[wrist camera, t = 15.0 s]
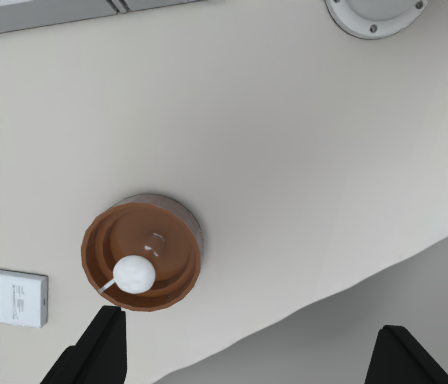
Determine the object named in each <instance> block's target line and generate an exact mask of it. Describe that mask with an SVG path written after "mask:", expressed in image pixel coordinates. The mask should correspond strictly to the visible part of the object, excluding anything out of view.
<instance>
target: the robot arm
mask: <svg viewBox="0 0 448 384" xmlns="http://www.w3.org/2000/svg"><path fill="white" fill-rule="evenodd" d="M334 1H335V2H334ZM334 1H333V0H326V4H327V6H328V9H329V11H330V14H331V15H332V17H333V18H334V20H335V21H336V23H337V24H338V25H339V26H340V27H341V28H342V29H343V30H345V31H346V32H348V33H349V34H351V35H353V36H356V37H359V38H364V39H380V38H384V37H387V36H390V35H392V34H394V33H396V32H398V31H400V30H401V29H403V28H405V27H406V26H408V25H409V24H410V23H411V22H413V21H414V20H415V19H416V18H417V17H418V16H419V15H420V14H421V12H422V11H423V10H424V9H425V7H426V5H427V4H428V2H429V0H334ZM126 374H127V346H126V313H125V311H121V307H119V306H106V305H104V306H103V307H102V308H101V309H100V311H99V312H98V313H97V315H96V316H95V318H94V319H93V321H92V322H91V323H90V325H89V326H88V328H87V329H86V331H85V332H84V333H83V335H82V336H81V338H80V339H79V341H78V342H77V343H76V345H75V346H69V347H68V348H66V349H65V351H64V352H63V353H62V354H61V356H60V357H59V358H58V360H57V361H56V362H55V364H54V365H53V367H52V368H51V369H50V371H49V372H48V373H47V375H46V376H45V377H44V379H43V380H42V382H41V383H40V384H124V381H125V378H126ZM364 384H448V374H447V373H446V372H445V371H444V370H443V369H442V368H441V367H440V366H439V364H438V363H437V362H436V361H435V360H434V359H433V358H432V357H431V356H430V355H429V354H428V352H427V351H426V350H425V349H424V348H423V347H422V346H421V345H420V343H419V342H417V340H416V339H415V338H414V337H413V336H412V335H411V334H410V332H409V331H408V330H407V329H406V328H405V327H402V326H393V325H385V326H384V327H383V328H382V329H380V330H379V332H378V336H377V340H376V343H375V347H374V351H373V354H372V358H371V362H370V365H369V369H368V372H367V376H366V379H365V383H364Z"/></svg>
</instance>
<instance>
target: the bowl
mask: <svg viewBox="0 0 448 384" xmlns="http://www.w3.org/2000/svg"><path fill="white" fill-rule="evenodd" d="M153 233H155V234H157V235H160V236H161V237H162V238H163V240H164V241H165V249H164V252H163V255H162V258H161V261H160V264H159V267H158V270H157V274H156V277H155V280H154V283H153V285H152V287H151V288H150V289H149V290H147V291H145V292H142V293H136V294H132V293H128V292H125V291H123V290H121V289H120V288H119V287H118V285H117V284H116V282H115V283H113V284H112V285H111V286H110V287H108V288H107V289H106V290H105V291H103V292H102V293H101V294H100V292H99V289H101V288H102V287H103V286H104V285H106V284H107V283H108V282H110V281H111V280H112V279H113V278H114V276H113V270H114V267H115V265H116V264H117V263H118V261H119V260H121V259H122V258H123V257H124V256H125V255H126V254H127V253H129V252H130V251H131V250H132V249H133V248H134V247H135V246H136V245H137V244H138V243H139V242H140V241H141V240H142V239H143V238H144V237H145V236H146V235H149V234H153ZM202 256H203V237H202V234H201V230H200V227H199V225H198V223H197V222H196V220H195V219H194V217H193V216H192V215H191V213H190V212H189V211H188V210H187V209H186V208H184V207H183V206H182V205H180V204H179V203H178V202H176V201H174V200H172V199H169V198H166V197H163V196H161V195H151V194H140V195H136V196H132V197H128V198H125V199H124V200H122V201H120V202H119V203H117V204H116V205H114V206H113V207H111V208H110V209H108V210H107V211H105V212H103V213H102V214H100V215H99V216H97V217H96V218H95V220H94V221H93V222H92V224H91V225H90V226H89V228H88V229H87V230H86V232H85V235H84V239H83V242H82V246H81V258H82V266H83V269H84V271H85V273H86V276H87V278H88V281H89V282H90V284H91V285H92V286H93V287H94V288H95V289H96V291H97V292H98V293H99V294H100V295H101V296H102V297H104V298H105V299H107V300H108V301H110V302H111V303H113V304H114V305H116V306H119V307H122V308H126V309H129V310H132V311H146V312H152V311H156V310H160V309H165V308H168V307H170V306H172V305H173V304H175V303H177V302H179V301H180V300H182V299H183V298H184V297H185V296H186V295H187V294H188V293H189V292H190V290H191V289H192V288H193V287H194V285H195V283H196V280H197V278H198V275H199V273H200V269H201V262H202Z"/></svg>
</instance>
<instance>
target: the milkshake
mask: <svg viewBox="0 0 448 384" xmlns="http://www.w3.org/2000/svg"><path fill="white" fill-rule="evenodd" d="M164 249H165V241H164V240H163V238H162V237H161V236H160V235H157V234H155V233H153V234H149V235H146V236H145V237H144V238H143V239H142V240H141V241H140V242H139V243H138V244H137V245H136V246H135V247H134V248H133V249H132V250H131V251H130V252H129V253H127V254H126V255H125V256H124V257H123V258H122V259H121V260H119V261H118V263H117V264H116V265H115V267H114V270H113V276H114V278H113V279H112V280H111V281H110V282H108V283H107V284H106V285H104V286H103V287H102V288H101V289H99V292H100V294H101V293H102V292H103V291H105V290H106V289H107V288H108V287H110V286H111V285H112V284H113V283H115V282H116V284H117V285H118V287H119V288H120V289H121V290H123V291H125V292H128V293H132V294H136V293H142V292H145V291H147V290H149V289H150V288H151V287H152V285H153V283H154V280H155V277H156V274H157V270H158V267H159V264H160V261H161V258H162V255H163V252H164Z"/></svg>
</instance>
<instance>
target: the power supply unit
mask: <svg viewBox="0 0 448 384" xmlns="http://www.w3.org/2000/svg"><path fill="white" fill-rule="evenodd" d="M193 1H199V0H0V33H1V32H7V31H14V30H20V29H26V28H32V27H39V26H45V25H51V24H57V23H64V22H70V21H76V20H82V19H89V18H95V17H101V16H107V15H114V14H117V11H116V10H117V9H119V10H120V12H121V13H126V12H127V9H126V8H130V9H131V11H135V10H142V9H148V8H154V7H161V6H167V5H173V4H180V3H186V2H193Z"/></svg>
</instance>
